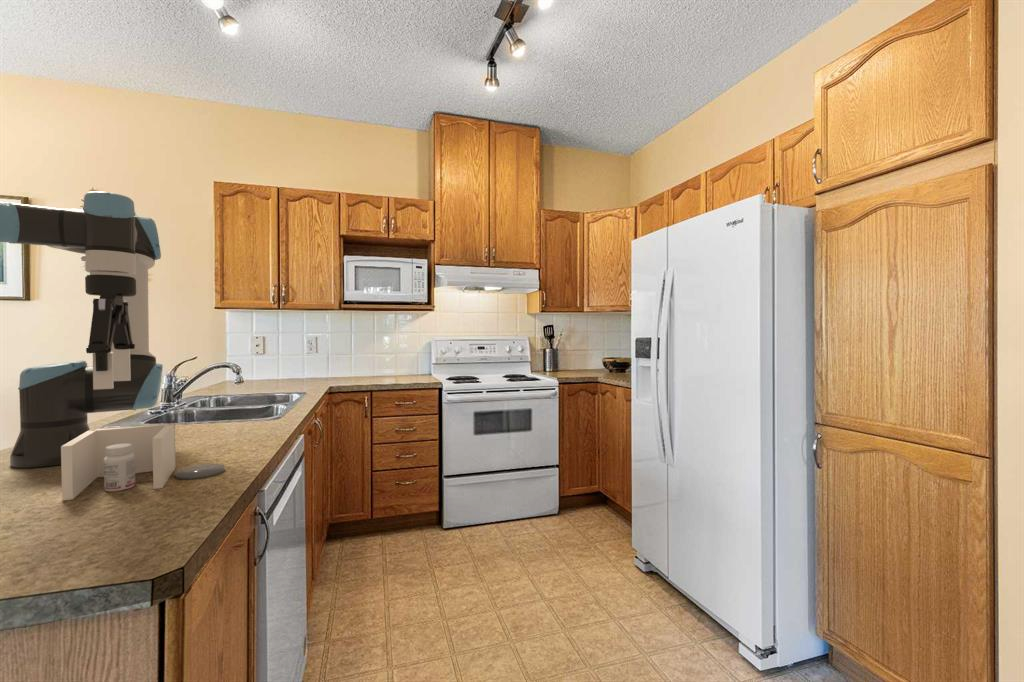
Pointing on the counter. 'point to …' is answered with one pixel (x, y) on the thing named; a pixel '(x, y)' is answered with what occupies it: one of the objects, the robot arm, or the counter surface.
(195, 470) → the coaster
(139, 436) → the cubby
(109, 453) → the pill bottle
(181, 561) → the counter surface
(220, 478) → the counter surface
